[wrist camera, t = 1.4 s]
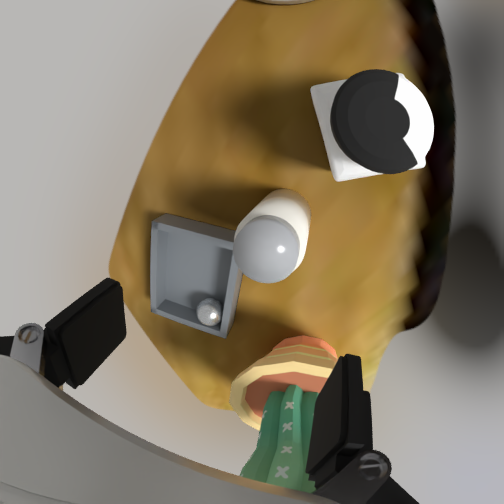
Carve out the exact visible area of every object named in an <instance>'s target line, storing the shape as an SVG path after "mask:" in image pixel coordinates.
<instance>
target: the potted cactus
mask: <svg viewBox="0 0 504 504" xmlns="http://www.w3.org/2000/svg"><path fill="white" fill-rule="evenodd" d="M337 361H338V359H337V355H336V352H335V349H334V348H332V347H331V346H330V345H329V344H327V343H326V342H325V341H323V340H322V339H318V338H314V337H309V336H304V335H302V336H297V337H291V338H286V339H284V340H283V341H281V342H280V343H279V344H277V345H276V346H275V347H274V348H273V349H272V351H271V352H270V353H269V354H267V355H266V356H265V357H263V358H262V359H259V360H257V361H256V362H255V363H253V364H252V365H251V366H249V367H248V368H247V369H245V370H244V371H243V372H241V373H240V374H238V376H237V377H236V378H235V379H234V381H233V382H232V385H231V393H230V400H229V403H230V405H231V406H232V407H233V409H234V410H235V412H236V413H237V414H238V416H239V417H240V419H241V420H242V421H243V422H244V423H246V424H248V425H250V426H251V427H253V428H255V429H257V430H259V431H260V432H259V437H258V443H257V448H256V450H255V451H254V453H253V454H252V456H251V457H250V459H249V460H248V462H247V463H246V464H245V466H244V467H243V469H242V471H241V474H240V476H241V477H244V478H248V479H252V480H255V481H259V482H263V483H267V484H272V485H276V486H281V487H285V488H290V489H294V490H298V491H303V492H307V493H312V492H313V491H315V490H316V488H315V487H314V486H315V481H308V478H309V474H306V472H305V470H306V464H307V458H308V451H309V445H310V438H311V431H312V423H313V415H314V407H315V402H316V399H317V396H318V395H319V393H320V391H321V390H322V388H323V386H324V384H325V383H326V381H327V379H328V377H329V376H330V374H331V372H332V370H333V368H334V366H335V365H336V363H337Z"/></svg>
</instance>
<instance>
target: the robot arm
mask: <svg viewBox="0 0 504 504" xmlns="http://www.w3.org/2000/svg"><path fill="white" fill-rule="evenodd" d="M257 1H261V2H265V3H272V4H298V3H305V2H309V1H314V0H257ZM45 327H46V328H45V329H44V330H43V329H42V327H41V326H40V325H38V324H36V323H28V324H25V325H22V326H21V327H19V329H18V330H17V331H16V333H15V336H4V337H0V504H419V503H418V502H417V501H416V500H415V499H414V498H413V497H412V496H410V495H409V494H408V493H407V492H406V491H405V490H404V489H403V488H402V487H401V486H400V485H399V484H398V483H396V482H395V481H394V480H393V479H392V478H391V477H390V474H391V470H392V468H391V463H390V460H389V458H388V457H387V456H386V455H385V454H383V453H381V452H380V451H377V450H373V438H372V415H371V399H370V393H369V392H368V391H363V379H362V366H361V358H360V356H355V355H351V354H346V355H345V356H344V357H343V356H340V357H339V359H338V361H337V363H336V365H335V366H334V368H333V370H332V372H331V374H330V376H329V377H328V379H327V381H326V383H325V384H324V386H323V388H322V390H321V391H320V393H319V395H318V396H317V399H316V402H315V407H314V415H313V423H312V431H311V438H310V445H309V451H308V458H307V464H306V470H305V472H306V474H309V478H308V481H315V486H314V487H315V488H316V490H315V491H313V492H312V493H307V492H303V491H298V490H294V489H290V488H285V487H281V486H276V485H272V484H267V483H263V482H259V481H255V480H252V479H248V478H244V477H241V476H237V475H234V474H230V473H227V472H224V471H221V470H218V469H215V468H211V467H209V466H206V465H203V464H200V463H197V462H195V461H192V460H189V459H187V458H184V457H182V456H179V455H177V454H175V453H172V452H170V451H168V450H165V449H163V448H161V447H158V446H156V445H154V444H152V443H150V442H148V441H146V440H144V439H141V438H140V437H138V436H136V435H134V434H132V433H130V432H128V431H126V430H124V429H122V428H121V427H119V426H117V425H115V424H114V423H112V422H110V421H108V420H107V419H105V418H103V417H101V416H100V415H98V414H97V413H95V412H93V411H92V410H90V409H88V408H87V407H85V406H84V405H82V404H81V403H79V402H78V401H76V400H75V399H73V398H72V397H71V396H69V395H68V394H66V393H65V392H64V391H63V384H64V383H65V382H66V383H67V384H68V385H70V386H71V387H72V388H74V389H76V388H77V387H78V386H79V385H82V384H84V382H85V381H86V380H87V379H88V378H89V377H90V376H91V375H92V374H93V373H94V371H95V370H96V369H97V368H98V367H99V366H100V365H101V364H102V363H103V362H104V360H105V359H106V358H107V357H108V356H109V355H110V354H111V353H112V352H113V351H114V350H115V349H116V348H117V346H118V345H119V344H120V343H121V342H122V341H123V340H124V339H125V337H126V324H125V313H124V302H123V289H122V287H121V286H120V283H119V282H118V281H115V280H113V279H111V278H106V279H104V280H103V281H102V282H100V283H99V284H98V285H96V286H95V287H93V288H92V289H91V290H89V291H88V292H87V293H85V294H84V295H83V296H81V297H80V298H79V299H77V300H76V301H75V302H73V303H72V304H71V305H70V306H68V307H67V308H65V309H64V310H63V311H62V312H60V313H59V314H58V315H56V316H55V317H54V318H53V319H51V320H50V321H49V322H48V323H47V324H45Z"/></svg>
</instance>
